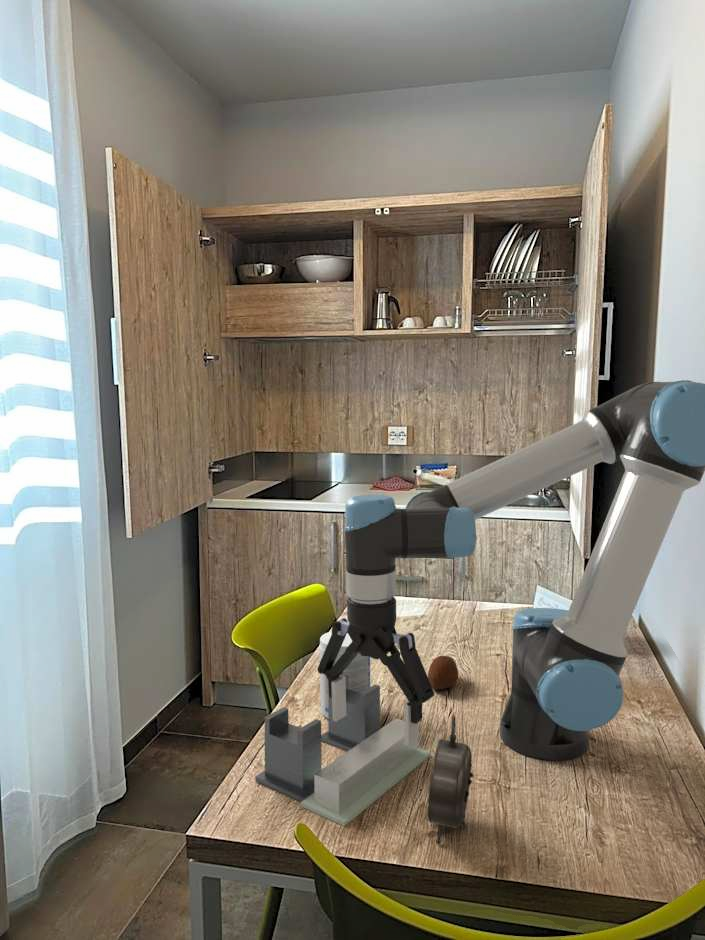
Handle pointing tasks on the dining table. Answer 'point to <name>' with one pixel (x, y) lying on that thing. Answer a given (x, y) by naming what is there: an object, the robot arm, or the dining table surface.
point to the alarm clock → (449, 783)
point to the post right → (354, 718)
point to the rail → (362, 767)
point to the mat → (371, 794)
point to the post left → (291, 756)
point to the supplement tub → (355, 671)
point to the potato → (443, 672)
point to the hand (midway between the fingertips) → (374, 729)
